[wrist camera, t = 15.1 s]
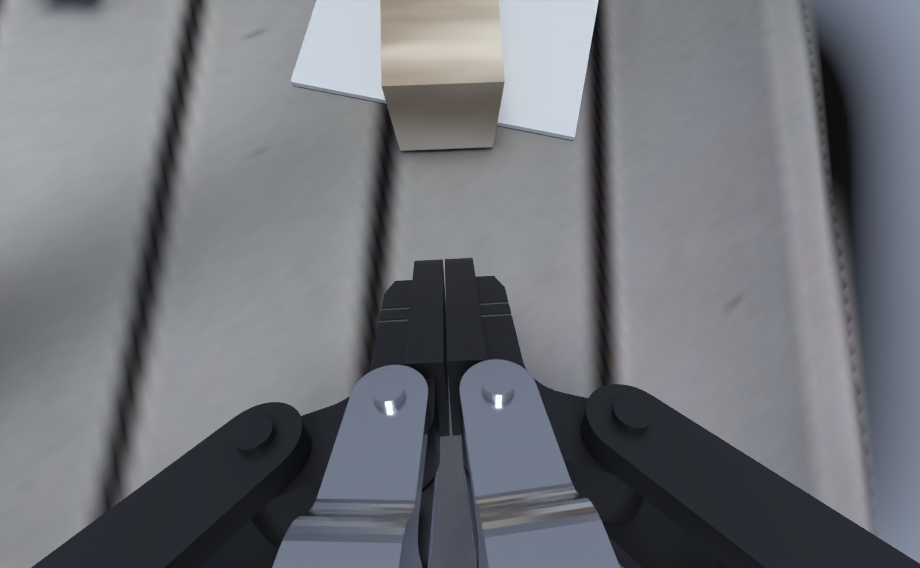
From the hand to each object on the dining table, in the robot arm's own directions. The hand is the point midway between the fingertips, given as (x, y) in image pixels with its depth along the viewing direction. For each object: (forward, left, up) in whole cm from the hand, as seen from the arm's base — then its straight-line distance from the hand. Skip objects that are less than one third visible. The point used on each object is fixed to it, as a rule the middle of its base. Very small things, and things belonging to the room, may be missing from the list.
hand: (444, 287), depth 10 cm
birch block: (+9, +2, -6) cm, 11 cm away
